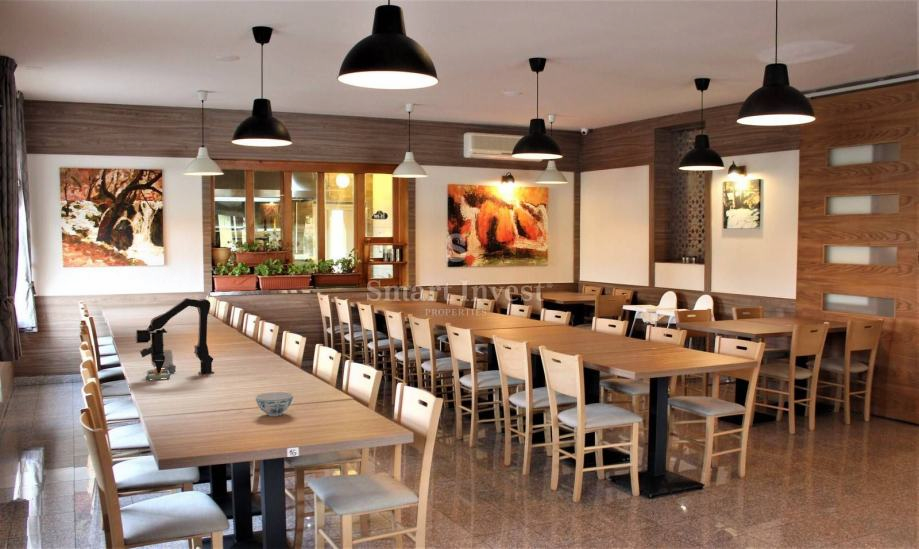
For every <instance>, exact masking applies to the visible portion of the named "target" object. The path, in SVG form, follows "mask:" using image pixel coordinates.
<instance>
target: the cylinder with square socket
mask: <svg viewBox="0 0 919 549" xmlns="http://www.w3.org/2000/svg"><path fill="white" fill-rule="evenodd" d="M164 370H169V373H172V374H174V373H173V372H176V371H177V369H176V365H175V364H174V365H167V366H165V369H164ZM176 373H177V372H176Z"/></svg>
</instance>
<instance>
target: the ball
mask: <svg viewBox="0 0 919 549" xmlns="http://www.w3.org/2000/svg"><path fill="white" fill-rule="evenodd" d="M162 370H163V369H161V371H160V373H157V369H156V367H154V370H153V371H154V373H155V375H160V374H161V373H162Z"/></svg>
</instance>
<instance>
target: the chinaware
mask: <svg viewBox="0 0 919 549" xmlns="http://www.w3.org/2000/svg"><path fill="white" fill-rule="evenodd" d="M293 398H294V394H293V393H291V392H286V391H285V392H283V391H276V392H274V391H272V392H271V391H270V392H265V393H260V394H257V395H255V401H256V404H257V406H258V407H259V409H260V410H261V411H262V412H264V413H265V415H266V416H267V415H269V416H268V417H278V415H280V416H282V414H283V415H284V412H286V411H287V410H288V409H289V407H290V406H291V404H292V402H293Z"/></svg>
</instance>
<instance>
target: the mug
mask: <svg viewBox="0 0 919 549" xmlns="http://www.w3.org/2000/svg"><path fill="white" fill-rule="evenodd" d="M164 355H165V361H164V363H163V366H162V368H165V366H167V365H175V363H174V362H173V361H174V359H173V358H174V355H173V349H164ZM150 360H151V362H150V363H151V366H153V368H156V365H155V363H154V362H153V361H152V358H150Z"/></svg>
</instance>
